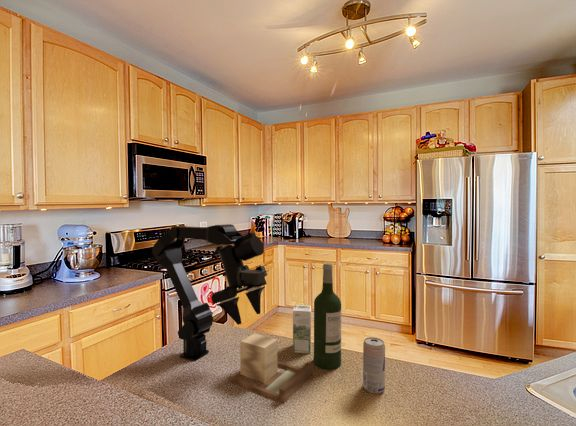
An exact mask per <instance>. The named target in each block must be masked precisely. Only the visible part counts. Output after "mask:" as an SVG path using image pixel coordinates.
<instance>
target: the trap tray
mask: <svg viewBox="0 0 576 426" xmlns="http://www.w3.org/2000/svg"><path fill="white" fill-rule="evenodd" d="M277 367H280V368H283V369H286V370H285V371H284V372H279V371H277V373H276V374H275V375H274V376H273V377H271V378H270V379H269V380H268V381H267V382H265V383H263V382H260V381H257V380H254V379H252V378H249V377H246V376H243V375H241V374H240V371H239V372H237V373H235V374H234V375H233V376H232V375H228V377H227V379H226V380H227V382H230V383H233V384H235V385H238V386H241V387H243V388H245V389H248V390H250V391H253V392H256V393H258V394H261V395H263V396H267V397H269V398H270V399H273V400H276V401H279V402H281V403H284V404H285V403H286V402H287V401H288V400H289V399H290V398H291V397H292V396H293V395H294V394H295V393H296V392H297V391H298V390H299V389H300V388H301V387H302V386H303V385H304V383H306V381H308V379H309V378H310V377H311V376H312V375H313V363H309V362H306V363H305V364H304V365H303V366H302V367H299V366H295V365H293V364H289V363H286V362H284V361H280V360H277ZM245 378H248V379H250V380H252V381H256V382H257V383H256V384H254V383H252V382H248V381H246V380H244V379H245Z"/></svg>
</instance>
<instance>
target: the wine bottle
mask: <svg viewBox="0 0 576 426" xmlns="http://www.w3.org/2000/svg"><path fill="white" fill-rule="evenodd" d="M333 284H334V281H333V264H332V263H331V262H326V263H325V262H324V263H323V264H322V290H321V292H320V293H319V294H317V296H316V297H315V298H314V300H313V364H314V366H316V367H317V368H319V369H322V370H325V371H331V370H336V369H339V368H340V367H341V366H342V301H341V299H340V298H339V296H338V295H337V294H336V293H335V292H334V287H333Z"/></svg>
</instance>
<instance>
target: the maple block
mask: <svg viewBox="0 0 576 426" xmlns="http://www.w3.org/2000/svg"><path fill="white" fill-rule="evenodd" d="M239 343H240V350H239V351H240V354H239V355H240V357H239V360H240V362H239V363H240V365H239V366H240V370H239V372H240V374H241V375H243V376H246V377H245V378H247V377H249V378H248V379H250V378H252V379H251V380H253V379H254V380H253V381H255V380H257V381H256V382H258V381H260V382H263V383H265V382H267V381H268V380H269V379H270V378H271V377H273V376H274V375H275V374H276V373H277V372H278V366H277V361H278V339H277V338H272V337H270V336H265V335H262V334H258V333H256V332H255V333H252V334H251V335H248V336H247V337H245V338H243V339H241V340H240V341H239Z"/></svg>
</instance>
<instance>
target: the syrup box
mask: <svg viewBox="0 0 576 426" xmlns="http://www.w3.org/2000/svg"><path fill="white" fill-rule="evenodd" d="M311 352H312V306H311V305H304V304H303V305H302V304H300V305H299V304H298V305H297V304H294V306H293V308H292V353H299V354H311Z"/></svg>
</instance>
